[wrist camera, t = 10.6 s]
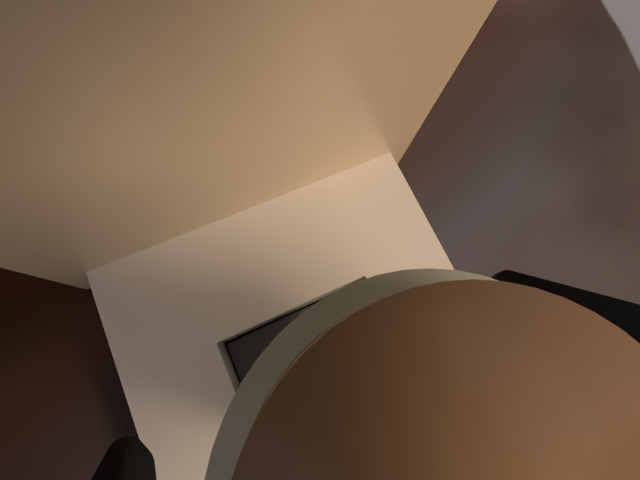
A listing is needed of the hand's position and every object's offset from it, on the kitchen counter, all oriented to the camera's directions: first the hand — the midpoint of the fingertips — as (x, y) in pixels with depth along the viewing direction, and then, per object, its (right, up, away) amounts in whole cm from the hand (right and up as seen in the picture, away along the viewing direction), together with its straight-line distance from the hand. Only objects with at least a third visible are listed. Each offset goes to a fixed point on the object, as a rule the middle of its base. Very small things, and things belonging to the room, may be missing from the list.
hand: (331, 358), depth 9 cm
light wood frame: (0, -3, +8) cm, 8 cm away
